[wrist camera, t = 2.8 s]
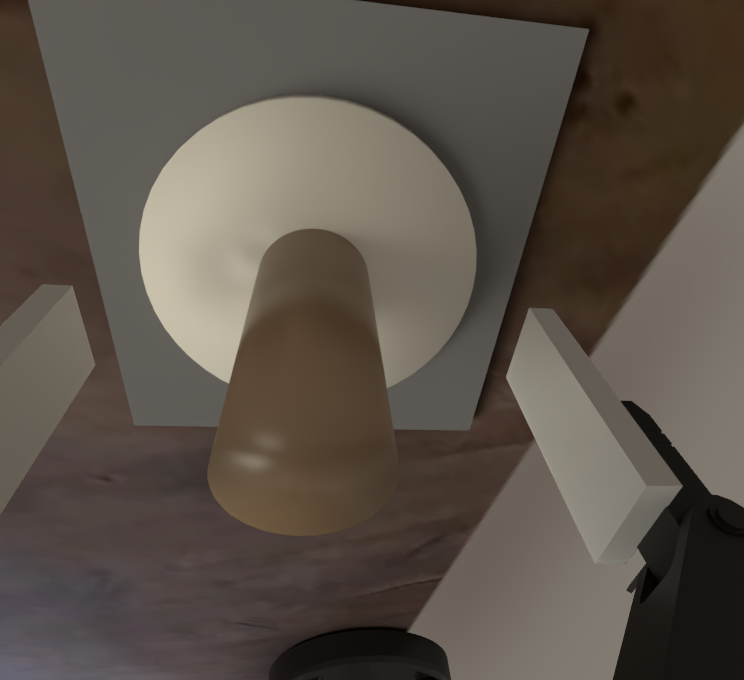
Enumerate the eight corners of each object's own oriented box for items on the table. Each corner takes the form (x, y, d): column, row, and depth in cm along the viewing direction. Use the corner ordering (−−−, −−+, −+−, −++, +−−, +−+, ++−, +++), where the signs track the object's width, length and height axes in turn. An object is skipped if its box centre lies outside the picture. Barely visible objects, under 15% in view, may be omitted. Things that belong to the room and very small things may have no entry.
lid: (440, 391, 22) (506, 612, 14) (172, 386, 21) (74, 628, 13) (504, 111, 16) (700, 225, 7) (116, 75, 14) (-167, 166, 6)
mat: (465, 418, 25) (469, 430, 24) (139, 413, 23) (134, 425, 22) (577, 28, 15) (589, 29, 15) (33, -39, 13) (17, -42, 13)
